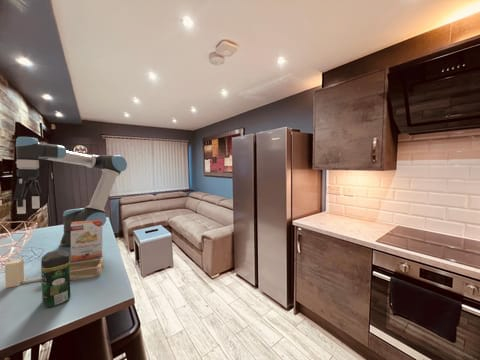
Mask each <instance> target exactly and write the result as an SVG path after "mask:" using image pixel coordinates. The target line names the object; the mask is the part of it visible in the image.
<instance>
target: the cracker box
mask: <svg viewBox="0 0 480 360" xmlns="http://www.w3.org/2000/svg"><path fill="white" fill-rule="evenodd" d="M101 256H102V257H103V226H102V219H100V220H89V221H78V222H72V223H71V247H70V263H74V262H80V261H85V260H91V259H95V258H101Z"/></svg>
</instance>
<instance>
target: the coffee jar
mask: <svg viewBox="0 0 480 360" xmlns="http://www.w3.org/2000/svg"><path fill="white" fill-rule="evenodd" d="M70 263H71V254H69V252H68V251H66V250H62V249H57V250H53V251H49V252H47V253H45V254H44V255H43V256H42V257H41V263H40V264H41V269H40V271H41V272H40V273H41V277H40V278H41V279H42V280H41V292H42V293H41V298H42V304H43V306H44V307H45V308H51V307H58V306H60V305H61V304H64V303H66V302H67V301H69V300H70V299H71V295H72V293H71V280H70Z"/></svg>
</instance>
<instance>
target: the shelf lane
mask: <svg viewBox="0 0 480 360" xmlns="http://www.w3.org/2000/svg"><path fill="white" fill-rule="evenodd" d="M104 268H105V258H97V259H95V258H94V259H87V260H80V261H73V262H70V281H75V280H80V279H87V278H93V277H98V276H101V274H102V272H103V269H104Z"/></svg>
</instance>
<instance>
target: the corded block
mask: <svg viewBox="0 0 480 360" xmlns="http://www.w3.org/2000/svg"><path fill="white" fill-rule="evenodd" d="M24 264H25V262H24V258H21V259H12V260H9V261H8V262H6V263H5V264H4V274H5V275H4V278H5V279H4V280H5V281H4V283H5V288H6V289H8V288H13V287H19V286H20V285H22V284H25V283H30V282H36V281H42V279H41V277H37V278H29V279H25V273H24V272H25V268H24V267H25V265H24Z"/></svg>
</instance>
